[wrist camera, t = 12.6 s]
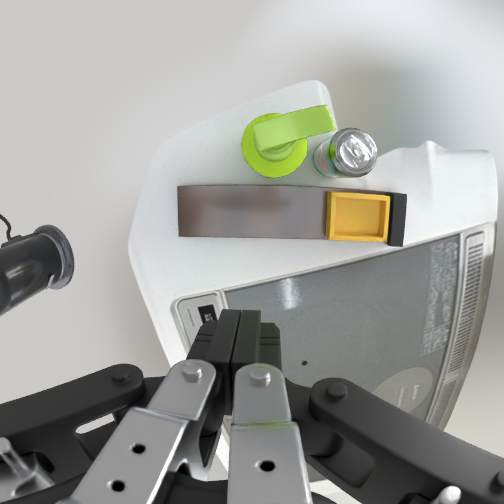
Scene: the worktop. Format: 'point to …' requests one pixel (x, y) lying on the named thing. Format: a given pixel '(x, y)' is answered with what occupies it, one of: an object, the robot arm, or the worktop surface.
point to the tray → (357, 217)
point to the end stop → (396, 219)
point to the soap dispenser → (283, 139)
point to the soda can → (346, 154)
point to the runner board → (255, 211)
